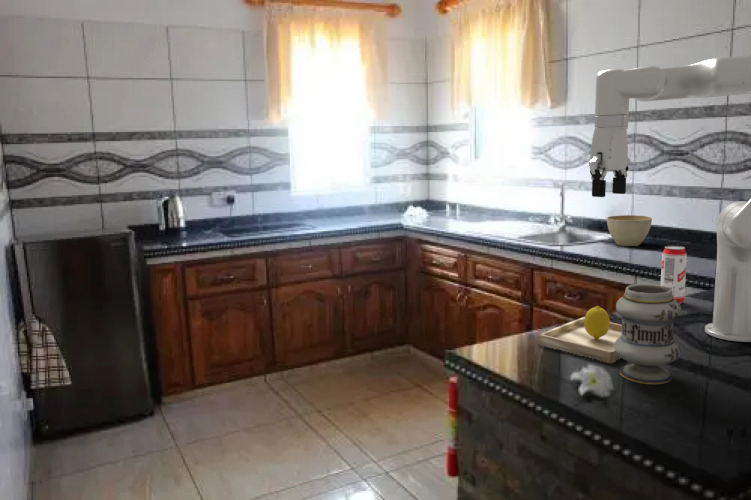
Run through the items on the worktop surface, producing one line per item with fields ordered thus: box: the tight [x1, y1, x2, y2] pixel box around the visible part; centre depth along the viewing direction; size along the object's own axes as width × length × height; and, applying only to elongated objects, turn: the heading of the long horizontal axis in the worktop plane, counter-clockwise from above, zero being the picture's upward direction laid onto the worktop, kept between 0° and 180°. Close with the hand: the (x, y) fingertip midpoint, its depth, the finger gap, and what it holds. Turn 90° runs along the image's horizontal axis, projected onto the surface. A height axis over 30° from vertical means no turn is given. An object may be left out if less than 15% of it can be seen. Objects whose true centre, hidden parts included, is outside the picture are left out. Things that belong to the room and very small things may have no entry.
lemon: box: [584, 305, 611, 339], centre depth 143 cm, size 6×6×8 cm
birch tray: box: [537, 316, 622, 364], centre depth 144 cm, size 20×18×2 cm
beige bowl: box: [606, 214, 653, 247], centre depth 268 cm, size 18×18×12 cm
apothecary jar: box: [614, 283, 682, 385], centre depth 123 cm, size 12×12×18 cm
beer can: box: [660, 245, 688, 305], centre depth 176 cm, size 6×6×16 cm
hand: (608, 195), depth 151 cm, fingers open, 9 cm apart
